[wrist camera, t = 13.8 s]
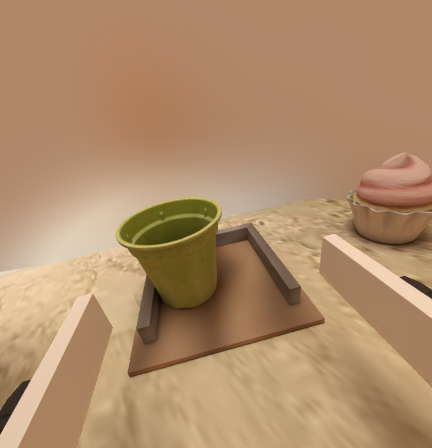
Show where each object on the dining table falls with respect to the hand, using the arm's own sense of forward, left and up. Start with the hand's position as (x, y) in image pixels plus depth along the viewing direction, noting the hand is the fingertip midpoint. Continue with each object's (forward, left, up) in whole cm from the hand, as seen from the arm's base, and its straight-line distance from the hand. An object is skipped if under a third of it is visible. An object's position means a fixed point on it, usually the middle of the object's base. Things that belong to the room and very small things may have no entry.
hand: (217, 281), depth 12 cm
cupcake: (+18, +18, -8) cm, 26 cm away
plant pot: (-5, +7, -8) cm, 12 cm away
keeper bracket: (-3, +9, -8) cm, 12 cm away
